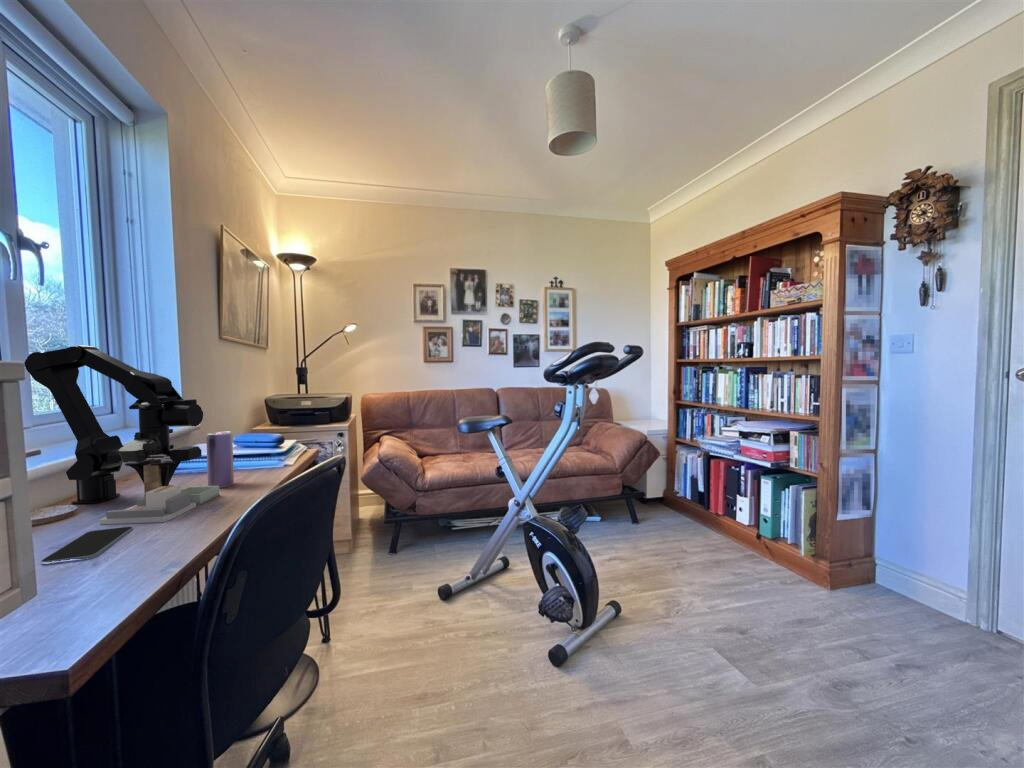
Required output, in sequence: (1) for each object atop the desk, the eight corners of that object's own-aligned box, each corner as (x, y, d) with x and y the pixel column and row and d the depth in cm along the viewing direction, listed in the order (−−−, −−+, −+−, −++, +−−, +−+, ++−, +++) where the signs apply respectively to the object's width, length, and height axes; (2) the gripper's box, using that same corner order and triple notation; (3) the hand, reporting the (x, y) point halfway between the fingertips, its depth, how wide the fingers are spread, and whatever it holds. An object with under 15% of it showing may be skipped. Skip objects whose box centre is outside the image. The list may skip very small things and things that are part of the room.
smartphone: (134, 525, 87) (94, 555, 73) (135, 530, 87) (94, 560, 73) (88, 531, 84) (37, 562, 70) (88, 535, 84) (37, 567, 70)
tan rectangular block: (144, 501, 104) (143, 461, 103) (155, 497, 107) (153, 458, 107) (159, 501, 104) (158, 461, 104) (169, 496, 108) (167, 458, 107)
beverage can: (224, 488, 114) (222, 434, 114) (202, 488, 115) (200, 434, 114) (238, 482, 120) (237, 431, 120) (218, 482, 120) (216, 431, 120)
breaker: (146, 512, 92) (145, 491, 92) (163, 504, 97) (162, 485, 97) (165, 511, 92) (165, 491, 92) (181, 504, 97) (180, 484, 97)
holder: (167, 505, 100) (166, 495, 100) (188, 496, 108) (188, 486, 108) (200, 504, 101) (200, 494, 101) (219, 495, 109) (219, 485, 109)
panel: (99, 524, 89) (99, 505, 89) (137, 508, 99) (136, 491, 99) (165, 521, 90) (164, 503, 90) (196, 506, 100) (195, 489, 100)
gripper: (84, 432, 96) (87, 499, 97) (171, 431, 98) (173, 496, 98) (124, 425, 107) (127, 485, 108) (201, 424, 109) (204, 483, 109)
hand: (156, 488), depth 106 cm, fingers closed on tan rectangular block, 3 cm apart
